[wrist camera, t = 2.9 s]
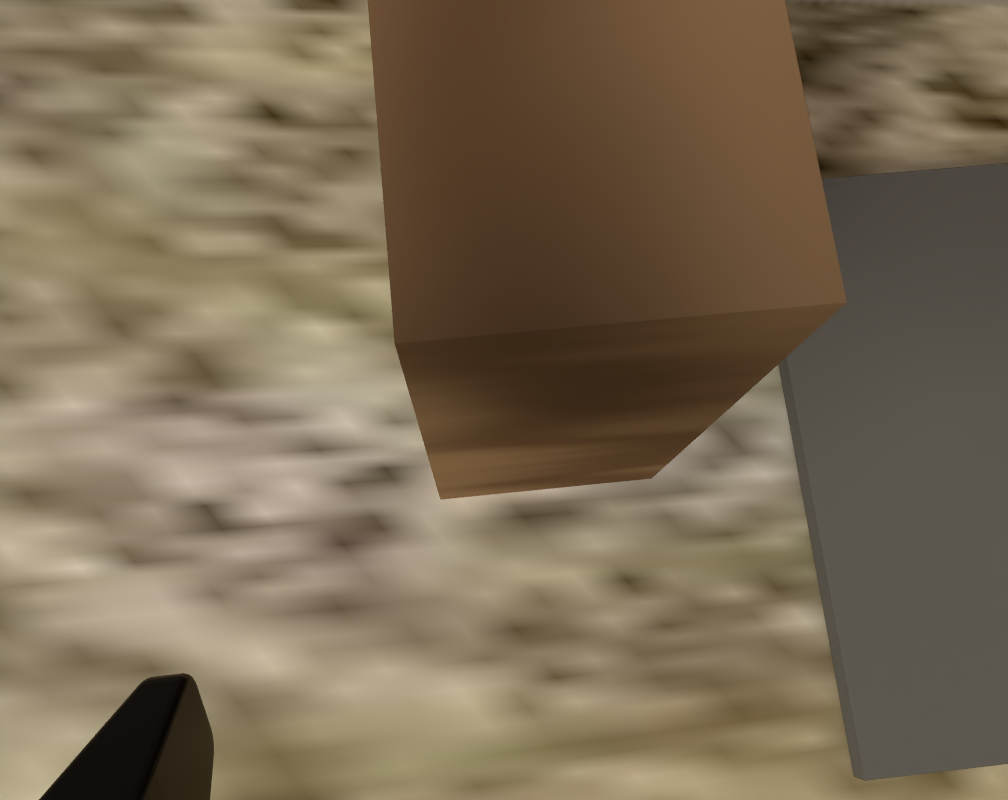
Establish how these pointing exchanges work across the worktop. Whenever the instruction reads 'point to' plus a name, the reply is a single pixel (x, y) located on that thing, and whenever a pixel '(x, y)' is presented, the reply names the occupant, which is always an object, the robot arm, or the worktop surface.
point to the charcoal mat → (912, 467)
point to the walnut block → (592, 227)
